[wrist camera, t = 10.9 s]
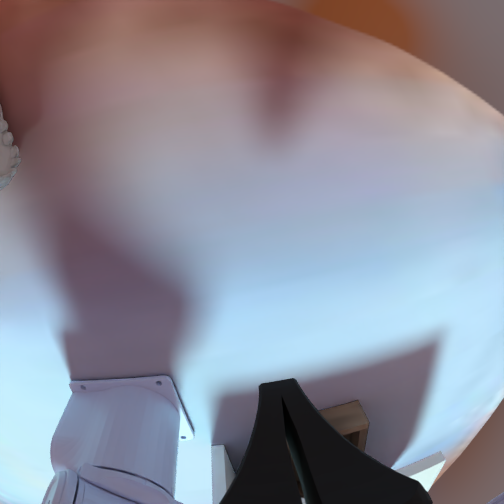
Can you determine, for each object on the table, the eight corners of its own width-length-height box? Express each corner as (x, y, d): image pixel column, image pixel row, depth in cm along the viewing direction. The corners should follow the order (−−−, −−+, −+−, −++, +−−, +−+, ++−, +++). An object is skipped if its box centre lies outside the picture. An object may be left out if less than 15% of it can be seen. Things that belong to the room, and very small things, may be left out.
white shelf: (240, 507, 31) (246, 561, 23) (211, 445, 26) (213, 521, 18) (386, 473, 32) (407, 520, 24) (407, 400, 27) (446, 459, 19)
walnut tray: (283, 480, 30) (292, 521, 24) (272, 420, 26) (283, 473, 20) (350, 464, 30) (365, 502, 24) (357, 400, 26) (381, 446, 20)
